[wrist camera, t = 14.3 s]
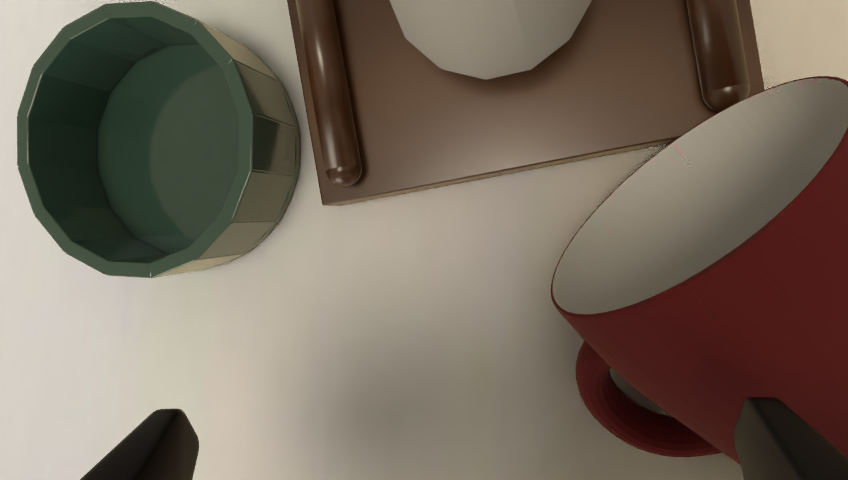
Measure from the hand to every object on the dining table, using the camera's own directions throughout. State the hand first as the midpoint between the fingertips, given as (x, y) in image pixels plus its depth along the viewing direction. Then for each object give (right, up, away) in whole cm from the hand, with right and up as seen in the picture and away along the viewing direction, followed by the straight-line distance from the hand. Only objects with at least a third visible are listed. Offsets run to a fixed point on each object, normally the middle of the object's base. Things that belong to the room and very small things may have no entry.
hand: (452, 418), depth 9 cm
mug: (+12, -4, +6) cm, 14 cm away
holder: (-9, +6, +13) cm, 17 cm away
